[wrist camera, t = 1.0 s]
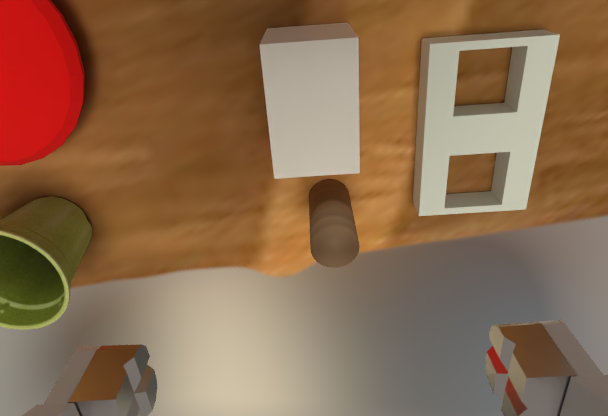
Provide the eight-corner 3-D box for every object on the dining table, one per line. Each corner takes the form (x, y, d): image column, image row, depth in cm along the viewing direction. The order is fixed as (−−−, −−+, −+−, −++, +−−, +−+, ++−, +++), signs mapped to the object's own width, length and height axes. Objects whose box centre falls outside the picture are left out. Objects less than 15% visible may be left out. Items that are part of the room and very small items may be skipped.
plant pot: (-4, 241, 43) (-70, 303, 35) (16, 160, 39) (-53, 210, 31) (94, 279, 45) (52, 344, 37) (123, 205, 41) (83, 262, 33)
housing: (267, 28, 34) (259, 44, 27) (347, 22, 33) (358, 37, 27) (278, 142, 38) (274, 178, 32) (350, 137, 38) (359, 173, 32)
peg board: (421, 38, 34) (430, 43, 32) (543, 29, 34) (559, 34, 31) (412, 202, 41) (419, 215, 39) (513, 195, 40) (525, 209, 38)
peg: (307, 180, 40) (309, 228, 33) (348, 177, 40) (358, 225, 33) (310, 215, 41) (312, 268, 34) (349, 213, 41) (359, 266, 34)
